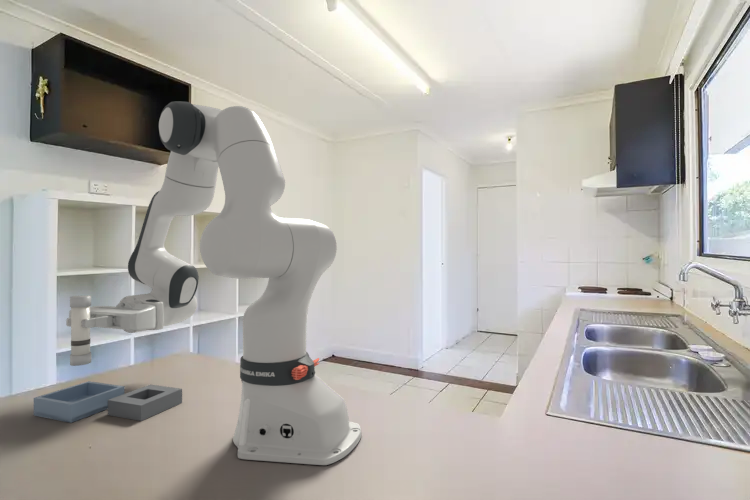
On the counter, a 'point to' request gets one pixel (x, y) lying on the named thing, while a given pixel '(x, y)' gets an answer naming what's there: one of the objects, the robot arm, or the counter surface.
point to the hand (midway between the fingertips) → (76, 323)
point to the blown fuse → (80, 330)
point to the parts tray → (76, 401)
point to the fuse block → (144, 402)
